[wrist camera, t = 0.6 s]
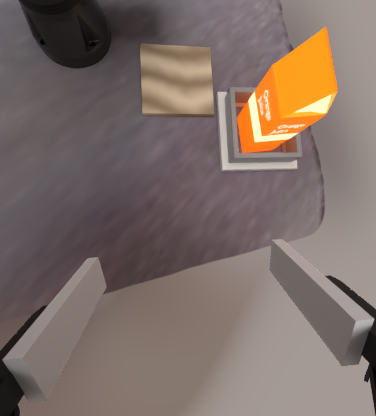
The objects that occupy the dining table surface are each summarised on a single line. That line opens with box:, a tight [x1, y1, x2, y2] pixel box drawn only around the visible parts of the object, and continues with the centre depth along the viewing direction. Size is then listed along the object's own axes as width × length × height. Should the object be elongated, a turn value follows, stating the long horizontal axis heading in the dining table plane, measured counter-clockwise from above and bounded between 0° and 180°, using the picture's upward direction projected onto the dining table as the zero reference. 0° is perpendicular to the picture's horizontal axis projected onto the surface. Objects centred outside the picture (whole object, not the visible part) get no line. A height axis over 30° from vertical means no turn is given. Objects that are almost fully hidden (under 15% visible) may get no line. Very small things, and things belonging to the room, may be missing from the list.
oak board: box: [140, 44, 214, 117], centre depth 40 cm, size 16×16×1 cm
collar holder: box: [216, 87, 302, 172], centre depth 39 cm, size 18×18×5 cm
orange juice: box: [237, 27, 338, 153], centre depth 32 cm, size 8×9×20 cm
